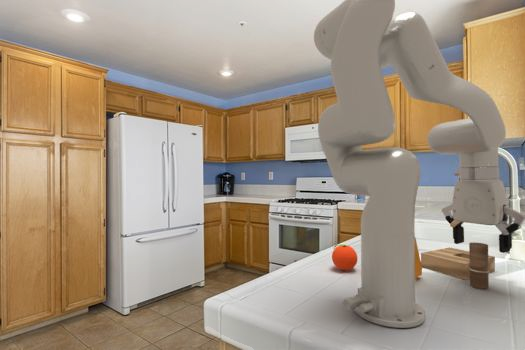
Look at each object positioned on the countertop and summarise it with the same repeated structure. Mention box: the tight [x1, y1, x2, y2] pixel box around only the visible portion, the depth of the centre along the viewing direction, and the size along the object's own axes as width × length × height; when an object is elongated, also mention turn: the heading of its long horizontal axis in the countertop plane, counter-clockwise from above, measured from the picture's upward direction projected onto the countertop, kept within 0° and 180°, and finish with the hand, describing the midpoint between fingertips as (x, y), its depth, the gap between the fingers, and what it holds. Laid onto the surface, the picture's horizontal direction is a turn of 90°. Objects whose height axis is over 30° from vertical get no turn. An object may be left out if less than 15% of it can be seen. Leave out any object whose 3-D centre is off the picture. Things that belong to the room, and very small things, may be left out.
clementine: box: [331, 244, 359, 271], centre depth 83 cm, size 8×7×7 cm
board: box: [420, 247, 496, 280], centre depth 83 cm, size 14×12×4 cm
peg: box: [468, 242, 490, 290], centre depth 70 cm, size 4×4×10 cm
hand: (480, 247), depth 70 cm, fingers open, 9 cm apart
